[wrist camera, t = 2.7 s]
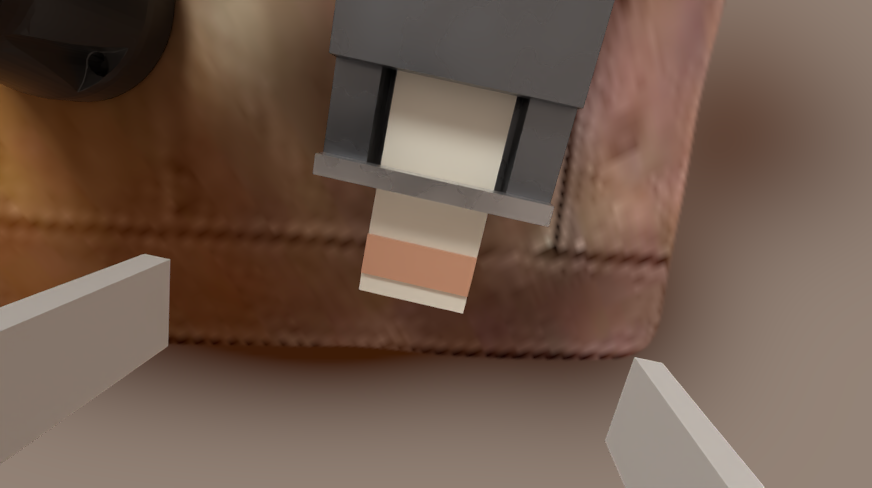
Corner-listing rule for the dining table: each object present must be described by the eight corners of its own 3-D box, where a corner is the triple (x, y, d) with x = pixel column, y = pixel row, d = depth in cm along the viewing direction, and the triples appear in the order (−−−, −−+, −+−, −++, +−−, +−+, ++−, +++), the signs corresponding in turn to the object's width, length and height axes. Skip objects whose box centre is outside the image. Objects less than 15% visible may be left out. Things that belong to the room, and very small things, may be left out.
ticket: (369, 274, 24) (357, 290, 22) (419, 1, 20) (411, -17, 18) (463, 296, 24) (462, 315, 21) (530, 25, 20) (539, 10, 18)
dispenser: (371, 159, 29) (312, 174, 19) (398, 0, 27) (347, -90, 16) (520, 192, 29) (548, 228, 18) (562, 34, 26) (623, -33, 16)
